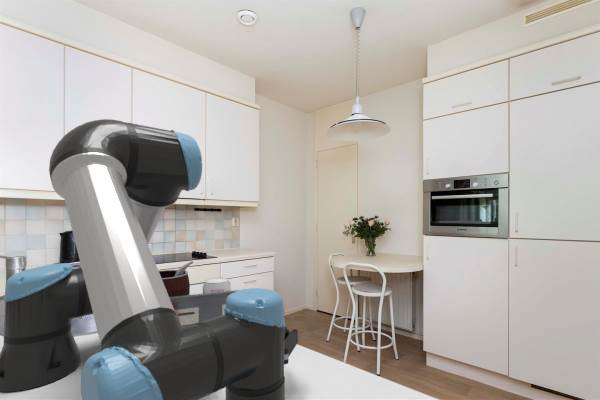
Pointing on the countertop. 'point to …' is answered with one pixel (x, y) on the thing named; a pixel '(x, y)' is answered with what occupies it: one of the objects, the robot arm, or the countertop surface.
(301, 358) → the countertop surface
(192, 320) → the label board
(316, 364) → the countertop surface
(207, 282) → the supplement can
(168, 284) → the mate gourd
